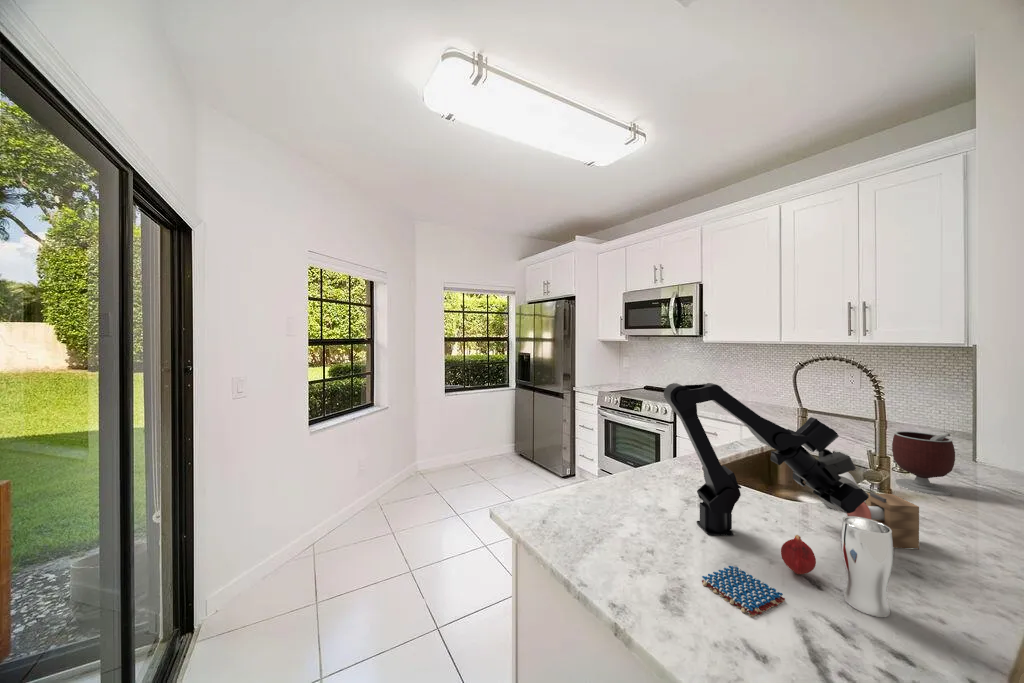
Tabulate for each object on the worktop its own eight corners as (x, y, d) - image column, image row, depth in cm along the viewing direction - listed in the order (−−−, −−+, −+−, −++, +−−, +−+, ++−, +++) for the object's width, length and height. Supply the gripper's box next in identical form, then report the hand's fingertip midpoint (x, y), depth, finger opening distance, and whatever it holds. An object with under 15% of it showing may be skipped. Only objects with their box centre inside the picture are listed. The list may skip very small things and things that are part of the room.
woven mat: (752, 622, 65) (752, 611, 65) (699, 586, 74) (699, 576, 74) (788, 604, 69) (788, 593, 69) (733, 572, 79) (733, 562, 79)
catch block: (889, 547, 87) (889, 501, 87) (864, 532, 94) (864, 489, 94) (919, 549, 86) (919, 503, 86) (892, 533, 93) (892, 491, 93)
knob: (864, 530, 88) (864, 505, 88) (845, 518, 94) (845, 494, 94) (900, 532, 87) (900, 506, 87) (878, 520, 93) (878, 496, 93)
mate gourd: (880, 478, 129) (880, 422, 129) (925, 480, 128) (925, 423, 127) (923, 497, 114) (923, 433, 114) (975, 500, 112) (975, 434, 112)
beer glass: (831, 593, 71) (831, 516, 71) (864, 591, 72) (864, 514, 72) (868, 621, 64) (869, 535, 64) (905, 618, 65) (905, 533, 65)
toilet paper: (813, 494, 117) (813, 462, 117) (855, 502, 111) (855, 469, 111) (816, 505, 109) (816, 472, 109) (862, 515, 103) (862, 479, 103)
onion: (822, 584, 74) (822, 545, 74) (790, 581, 75) (790, 541, 75) (805, 567, 79) (805, 530, 79) (775, 564, 81) (775, 527, 80)
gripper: (858, 453, 82) (915, 505, 81) (804, 432, 101) (849, 474, 99) (820, 487, 83) (875, 539, 82) (773, 460, 102) (817, 502, 101)
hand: (853, 510), depth 91 cm, fingers closed, pressing on knob
